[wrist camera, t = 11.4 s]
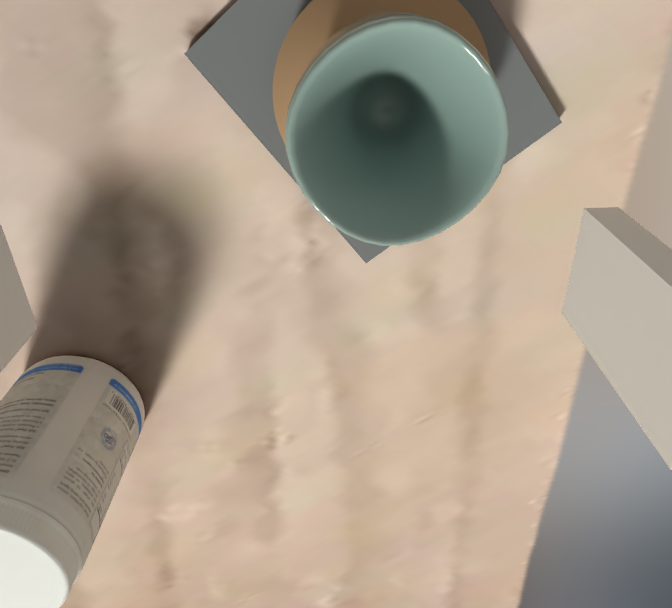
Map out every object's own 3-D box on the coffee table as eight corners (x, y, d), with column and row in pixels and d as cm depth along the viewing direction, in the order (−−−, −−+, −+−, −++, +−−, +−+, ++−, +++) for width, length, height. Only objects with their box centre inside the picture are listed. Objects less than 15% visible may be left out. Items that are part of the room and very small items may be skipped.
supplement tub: (11, 421, 44) (-126, 600, 31) (35, 330, 39) (-113, 494, 26) (131, 461, 46) (49, 645, 33) (166, 378, 41) (87, 552, 29)
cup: (395, -32, 25) (424, -43, 16) (487, 106, 28) (553, 158, 19) (270, 85, 28) (238, 128, 19) (366, 200, 31) (376, 284, 22)
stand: (187, 52, 30) (169, 60, 27) (393, -155, 26) (400, -175, 23) (365, 259, 36) (368, 284, 33) (558, 120, 32) (581, 134, 29)
